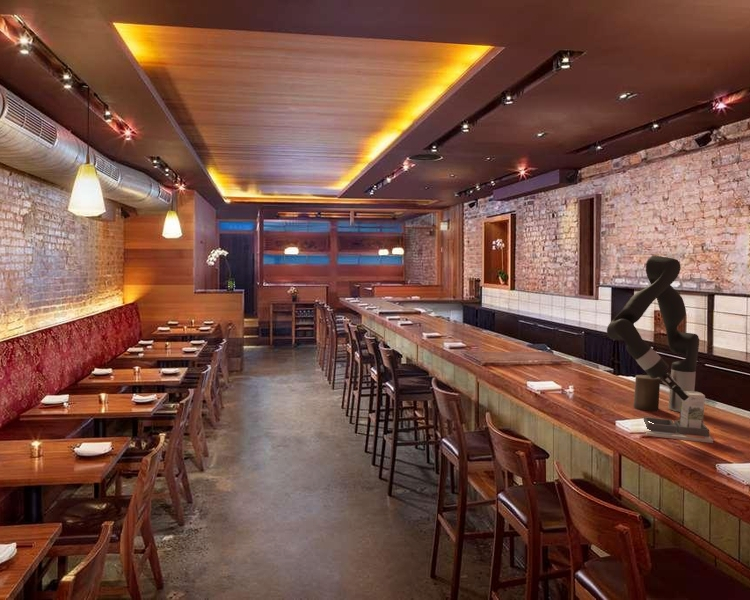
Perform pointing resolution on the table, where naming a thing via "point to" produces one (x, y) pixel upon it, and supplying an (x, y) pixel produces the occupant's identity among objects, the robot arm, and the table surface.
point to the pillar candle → (646, 393)
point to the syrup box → (692, 410)
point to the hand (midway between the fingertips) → (683, 396)
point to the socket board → (676, 430)
